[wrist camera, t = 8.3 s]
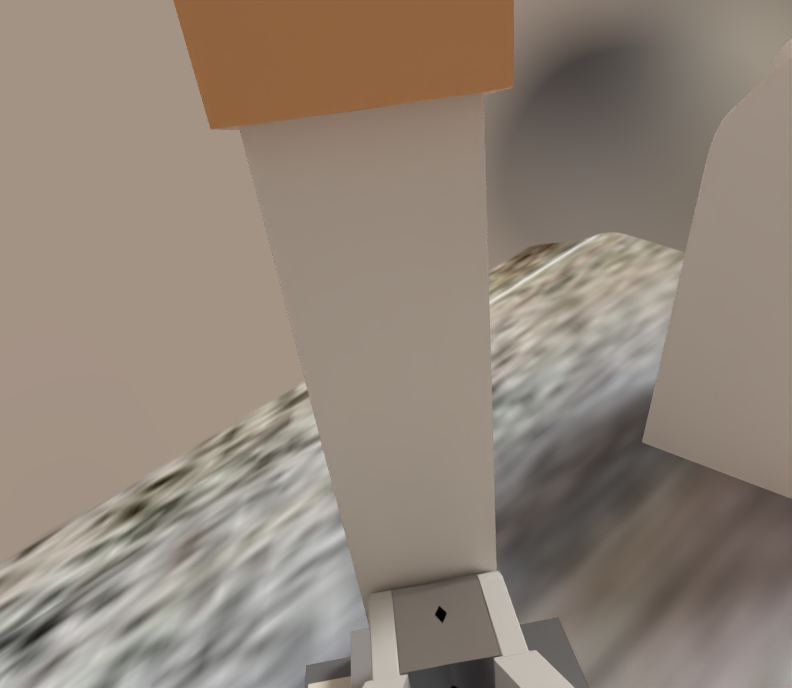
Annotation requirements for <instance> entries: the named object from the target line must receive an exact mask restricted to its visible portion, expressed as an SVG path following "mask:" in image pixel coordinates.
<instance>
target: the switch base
mask: <svg viewBox="0 0 792 688" xmlns="http://www.w3.org/2000/svg"><path fill="white" fill-rule="evenodd" d="M520 627H521V630H522V633H523V636H524V639H525V642H526V645H527V647H528V650H529V651H533V650H536V651H537V652H538V653H539V654H540V655H541V656H542V657H543V658H545V659H546V660H547V661H548V662H549V663H550V664H551V665H552V666H553V667H554V668H555V669H556V670H557V671H558V672H559V673H560V674H561V675H562V676H563V677H564V678H565V679H566V680H567V681H568V682H569V683H570V684H571V685H572V686H573V687H574V688H589V687H588V684H587V682H586V680H585V678H584V675H583V673H582V671H581V669H580V666H579V664H578V662H577V659H576V657H575V655H574V653H573V650H572V648H571V646H570V643H569V641H568V639H567V637H566V634H565V632H564V630H563V628H562V625H561V623H560V621H559V618H554V619H549V620H544V621H538V622H533V623H528V624H523V625H520ZM350 636H351V657H348V658H343V659H338V660H332V661H327V662H322V663H317V664H311V665H306V676H305V688H362V687H363V684H364V682H366V681H370V680H372V675H371V652H370V628H368V629H363V630H358V631H352V632H350Z"/></svg>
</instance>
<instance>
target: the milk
mask: <svg viewBox="0 0 792 688" xmlns="http://www.w3.org/2000/svg"><path fill="white" fill-rule="evenodd" d="M771 62H772V63H773V64H774V65H775V66H776V67H777V69H776V70H775V71H774V72H773V73H771V74H770V75H769V76H768V77H767V78H766V79H764V80H763V81H762V82H761V83H760V84H759V85H757V86H756V87H755V88H754V89H753V90H752V91H751V92H750V93H749V94H748V95H747V96H745V98H743V99H742V100H741V101H740V102H739V103H738V104H737V105H736V106H735V107H734V108H733V109H732V110H731V111H730V112H729V113H728V114H727V115H726V116H725V117H724V119H723V120H722V122H721V124H720V126H719V128H718V130H717V132H716V134H715V135H714V138H713V141H712V144H711V147H710V149H709V152H708V156H707V161H706V165H705V170H704V174H703V179H702V183H701V187H700V191H699V196H698V200H697V205H696V209H695V213H694V217H693V222H692V226H691V230H690V235H689V239H688V244H687V248H686V252H685V257H684V261H683V265H682V270H681V274H680V278H679V283H678V287H677V291H676V296H675V300H674V305H673V309H672V313H671V318H670V322H669V326H668V331H667V335H666V339H665V344H664V348H663V352H662V357H661V361H660V366H659V370H658V374H657V379H656V383H655V387H654V392H653V396H652V400H651V405H650V409H649V413H648V418H647V422H646V427H645V431H644V435H643V440H642V443H645V444H647V445H650V446H653V447H655V448H658V449H661V450H663V451H666V452H669V453H671V454H674V455H677V456H679V457H682V458H685V459H687V460H690V461H692V462H695V463H698V464H700V465H703V466H706V467H708V468H711V469H714V470H716V471H719V472H722V473H724V474H727V475H729V476H732V477H735V478H737V479H740V480H743V481H745V482H748V483H751V484H753V485H756V486H759V487H761V488H764V489H767V490H769V491H772V492H774V493H777V494H780V495H782V496H785V497H788V498H790V499H792V39H791V40H790V41H789V42H788V43H787V44H786V45H785V46H784V47H783V48H782V49H781V50H780V51H779V52H778V53H777V54H776V55H775V57H774V58H773V59H772V61H771Z"/></svg>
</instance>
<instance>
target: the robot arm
mask: <svg viewBox="0 0 792 688" xmlns="http://www.w3.org/2000/svg"><path fill="white" fill-rule="evenodd" d="M368 605H369V628H370V652H371V675H372V680H370V681H366V682H364V684H363V687H362V688H574V687H573V686H572V685H571V684H570V683H569V682H568V681H567V680H566V679H565V678H564V677H563V676H562V675H561V674H560V673H559V672H558V671H557V670H556V669H555V668H554V667H553V666H552V665H551V664H550V663H549V662H548V661H547V660H546V659H545V658H543V657H542V656H541V655H540V654H539V653H538V652H537V651H536V650H533V651H529V650H528V647H527V645H526V642H525V639H524V636H523V633H522V630H521V627H520V625H519V622H518V619H517V616H516V613H515V610H514V608H513V605H512V602H511V599H510V596H509V593H508V590H507V588H506V585H505V582H504V579H503V576H502V575H501V573H500V572H499V571H498V570H497V571H492V572H487V573H482V574H477V575H476V574H473V575H468V576H463V577H458V578H453V579H448V580H443V581H438V582H433V583H430V584H424V585H418V586H413V587H407V588H401V589H396V590H387V591H382V592H377V593H371V594H369V602H368Z"/></svg>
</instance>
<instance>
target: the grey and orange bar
mask: <svg viewBox="0 0 792 688" xmlns="http://www.w3.org/2000/svg"><path fill="white" fill-rule="evenodd" d="M174 4H175V7H176V10H177V14H178V18H179V21H180V25H181V28H182V31H183V35H184V38H185V42H186V45H187V49H188V52H189V56H190V59H191V62H192V66H193V69H194V73H195V77H196V80H197V83H198V87H199V90H200V94H201V97H202V101H203V104H204V108H205V111H206V115H207V118H208V121H209V125H210V128H211V129H221V130H240V133H241V136H242V140H243V144H244V147H245V152H246V156H247V159H248V163H249V167H250V171H251V175H252V179H253V183H254V186H255V190H256V194H257V198H258V202H259V205H260V209H261V213H262V217H263V221H264V225H265V228H266V232H267V236H268V240H269V244H270V247H271V251H272V255H273V259H274V263H275V267H276V270H277V274H278V278H279V282H280V286H281V290H282V293H283V297H284V301H285V305H286V309H287V313H288V316H289V320H290V324H291V328H292V332H293V336H294V339H295V343H296V347H297V351H298V355H299V359H300V362H301V366H302V370H303V373H304V378H305V382H306V385H307V389H308V393H309V397H310V401H311V404H312V408H313V412H314V416H315V420H316V424H317V427H318V431H319V435H320V439H321V443H322V447H323V450H324V454H325V458H326V462H327V466H328V470H329V473H330V477H331V481H332V485H333V489H334V493H335V496H336V500H337V504H338V508H339V512H340V515H341V519H342V523H343V527H344V531H345V535H346V538H347V542H348V546H349V550H350V554H351V558H352V561H353V565H354V569H355V573H356V577H357V581H358V584H359V588H360V592H361V596H362V600H363V604H364V607H365V611H366V615H367V619H368V623H369V605H368V602H369V594H371V593H377V592H382V591H387V590H396V589H401V588H407V587H413V586H418V585H424V584H430V583H433V582H438V581H443V580H448V579H453V578H458V577H463V576H468V575H473V574H476V575H477V574H482V573H487V572H492V571H497V561H496V526H495V490H494V454H493V419H492V383H491V347H490V311H489V276H488V243H487V242H488V240H487V204H486V173H485V172H486V170H485V133H484V100H483V99H484V97H483V95H485V94H490V93H493V92H497V91H501V90H505V89H509V88H512V87H514V86H513V85H514V81H513V77H514V74H513V73H514V72H513V70H514V58H513V57H514V54H513V51H514V50H513V49H514V39H513V38H514V32H513V31H514V20H513V19H514V18H513V17H514V14H513V11H514V8H513V7H514V2H513V0H174Z"/></svg>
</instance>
